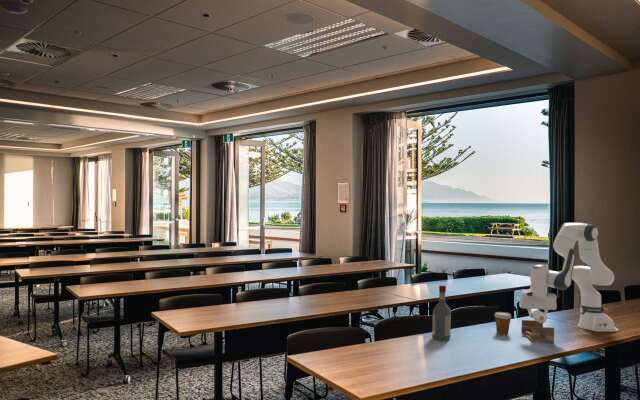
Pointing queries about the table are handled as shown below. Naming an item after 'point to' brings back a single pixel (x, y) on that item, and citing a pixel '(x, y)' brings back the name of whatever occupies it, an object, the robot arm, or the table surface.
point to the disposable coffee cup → (502, 322)
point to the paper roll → (538, 316)
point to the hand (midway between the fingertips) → (537, 316)
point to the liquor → (441, 318)
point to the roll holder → (537, 331)
